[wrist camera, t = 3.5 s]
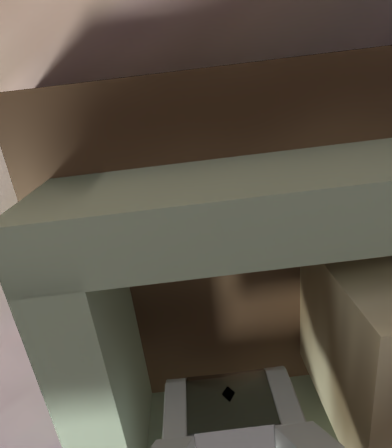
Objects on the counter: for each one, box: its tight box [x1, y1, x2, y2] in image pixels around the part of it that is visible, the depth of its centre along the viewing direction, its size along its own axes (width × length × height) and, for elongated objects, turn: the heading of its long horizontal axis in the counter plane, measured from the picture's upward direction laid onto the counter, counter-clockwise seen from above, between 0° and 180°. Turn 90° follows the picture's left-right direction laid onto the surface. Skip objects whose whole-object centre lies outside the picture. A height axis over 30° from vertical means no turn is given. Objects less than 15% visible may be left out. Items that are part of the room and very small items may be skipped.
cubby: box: [0, 138, 392, 448], centre depth 10 cm, size 10×12×4 cm
